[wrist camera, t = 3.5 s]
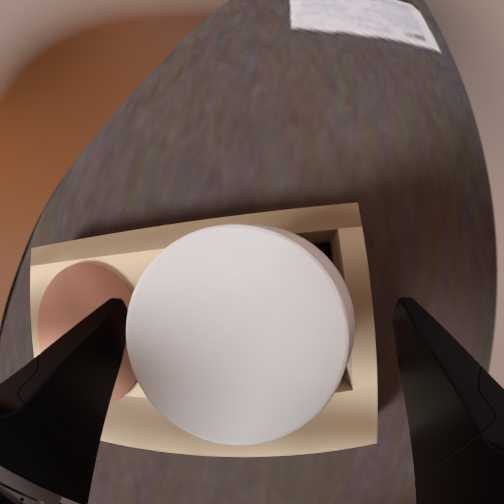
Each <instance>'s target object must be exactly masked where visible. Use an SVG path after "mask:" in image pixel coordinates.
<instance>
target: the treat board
mask: <svg viewBox="0 0 504 504" xmlns="http://www.w3.org/2000/svg"><path fill="white" fill-rule="evenodd" d="M223 224H249V225H265V226H271V227H276V228H280V229H284V230H287V231H289V232H291V233H294V234H296V235H298V236H300V237H302V238H304V239H306V240H307V241H309V242H310V243H312V244H320V243H329V242H330V245H331V253H332V260H333V264H334V266H335V267H336V268H337V270H338V271H339V273H340V275H341V276H342V278H343V280H344V282H345V284H346V286H347V289H348V292H349V294H350V297H351V300H352V304H353V309H354V317H355V335H354V344H353V348H352V352H351V356H350V359H349V362H348V364H347V366H346V368H345V371H344V374H343V377H342V379H341V381H340V384H339V386H338V388H337V390H336V391H335V393H334V395H333V396H332V398H331V399H330V401H329V402H328V403H327V405H326V406H325V407H324V408H323V409H322V410H321V411H320V412H319V413H318V414H317V415H316V416H315V417H314V418H313V419H312V420H311V421H309V422H308V423H307V424H305V425H304V426H302V427H301V428H299V429H298V430H296V431H294V432H293V433H291V434H288V435H286V436H284V437H282V438H279V439H276V440H273V441H269V442H266V443H260V444H254V445H226V444H220V443H215V442H211V441H208V440H204V439H201V438H199V437H196V436H194V435H192V434H190V433H188V432H186V431H184V430H183V429H181V428H179V427H178V426H176V425H175V424H173V423H172V422H171V421H169V420H168V419H167V418H166V417H164V416H163V415H162V414H161V413H160V412H159V411H158V410H157V409H156V408H155V406H154V405H153V404H152V403H151V402H150V400H149V399H148V398H147V397H146V395H145V394H144V392H143V390H142V389H141V387H140V385H139V383H138V381H137V379H136V377H135V375H134V372H133V370H132V367H131V363H130V360H129V356H128V351H127V344H126V345H125V350H124V355H123V359H122V363H121V366H120V369H119V372H118V376H117V379H116V383H115V386H114V389H113V393H112V397H111V400H110V404H109V408H108V411H107V415H106V419H105V423H104V427H103V431H102V435H101V439H100V441H105V442H109V443H114V444H119V445H124V446H129V447H135V448H140V449H147V450H153V451H161V452H169V453H177V454H188V455H201V456H220V457H269V456H288V455H301V454H311V453H320V452H328V451H336V450H342V449H349V448H354V447H360V446H365V445H370V444H375V443H377V420H378V388H377V357H376V339H375V326H374V314H373V303H372V293H371V285H370V276H369V269H368V261H367V254H366V247H365V241H364V235H363V229H362V223H361V217H360V212H359V206H358V203H347V204H336V205H325V206H315V207H306V208H296V209H287V210H278V211H269V212H260V213H252V214H244V215H236V216H228V217H220V218H213V219H205V220H198V221H191V222H184V223H177V224H170V225H163V226H156V227H150V228H143V229H137V230H131V231H125V232H118V233H112V234H107V235H101V236H95V237H89V238H83V239H78V240H72V241H67V242H62V243H56V244H51V245H46V246H41V247H36V248H32V249H31V271H30V306H31V327H32V340H33V351H34V358H35V357H36V356H38V355H39V354H40V353H41V352H43V351H44V350H45V349H46V348H47V347H49V346H50V345H51V344H52V343H54V342H55V341H56V340H57V339H59V338H60V337H61V336H62V335H64V334H65V333H66V332H67V331H69V330H70V329H71V328H72V327H74V326H75V325H76V324H78V323H79V322H80V321H81V320H83V319H84V318H85V317H87V316H88V315H89V314H90V313H92V312H93V311H94V310H96V309H97V308H98V307H100V306H101V305H102V304H104V303H105V302H106V301H107V300H109V299H110V298H121V299H122V300H123V301H124V303H125V305H126V307H127V309H128V308H129V304H130V300H131V297H132V294H133V292H134V289H135V287H136V285H137V283H138V281H139V279H140V277H141V276H142V274H143V272H144V271H145V269H146V268H147V266H148V265H149V264H150V263H151V262H152V261H153V260H154V258H155V257H156V256H157V255H158V254H159V253H160V252H162V251H163V250H164V249H165V248H166V247H168V246H169V245H170V244H172V243H173V242H175V241H176V240H178V239H180V238H181V237H183V236H185V235H187V234H189V233H192V232H194V231H196V230H199V229H202V228H206V227H210V226H215V225H223Z"/></svg>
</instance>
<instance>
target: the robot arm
mask: <svg viewBox="0 0 504 504" xmlns="http://www.w3.org/2000/svg"><path fill="white" fill-rule="evenodd" d="M127 313H128V309H127V307H126V305H125V303H124V301H123V300H122V299H121V298H110V299H109V300H107V301H106V302H105V303H104V304H102V305H101V306H100V307H98V308H97V309H96V310H94V311H93V312H92V313H90V314H89V315H88V316H87V317H85V318H84V319H83V320H81V321H80V322H79V323H78V324H76V325H75V326H74V327H72V328H71V329H70V330H69V331H67V332H66V333H65V334H64V335H62V336H61V337H60V338H59V339H57V340H56V341H55V342H54V343H52V344H51V345H50V346H49V347H47V348H46V349H45V350H44V351H43V352H41V353H40V354H39V355H38V356H36V357H35V358H34V359H33V360H32V361H30V362H29V363H28V364H27V365H25V366H24V367H23V368H21V369H20V370H19V371H17V372H16V373H15V374H13V375H12V376H10V377H9V378H8V379H6V380H5V381H4V382H2V383H1V384H0V504H62V503H60V501H61V498H62V497H64V498H67V499H69V500H72V501H74V502H77V503H80V504H87V503H88V498H89V493H90V487H91V482H92V477H93V472H94V467H95V462H96V457H97V452H98V448H99V443H100V439H101V435H102V431H103V427H104V423H105V419H106V415H107V411H108V408H109V404H110V400H111V397H112V393H113V389H114V386H115V383H116V379H117V376H118V372H119V369H120V366H121V363H122V359H123V355H124V350H125V345H126V320H127ZM393 329H394V337H395V345H396V354H397V363H398V369H399V374H400V379H401V384H402V389H403V394H404V400H405V405H406V411H407V417H408V424H409V430H410V437H411V445H412V453H413V462H414V473H415V486H416V503H417V504H504V389H503V388H502V387H501V386H500V385H499V384H498V383H497V382H496V381H495V380H494V379H493V378H492V377H491V376H490V375H489V374H488V373H487V371H486V370H485V369H484V368H483V367H482V366H480V364H479V363H478V362H477V361H476V360H475V359H474V358H473V357H472V356H471V355H470V354H469V353H468V352H467V351H466V350H465V349H464V347H463V346H462V345H461V344H460V343H459V342H458V341H457V340H456V339H455V338H454V337H453V336H452V335H451V334H450V333H449V332H448V331H447V330H446V329H444V328H443V327H442V326H441V325H440V324H439V323H438V322H437V321H436V320H435V319H434V318H433V317H432V316H431V315H430V314H429V313H428V312H427V311H426V310H425V309H424V308H423V307H422V306H420V305H419V304H418V303H417V302H416V301H415V300H414V299H413V298H411V297H403V298H399V300H398V302H397V305H396V308H395V311H394V314H393Z"/></svg>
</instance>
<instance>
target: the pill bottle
mask: <svg viewBox="0 0 504 504" xmlns="http://www.w3.org/2000/svg"><path fill="white" fill-rule="evenodd" d="M354 335H355V317H354V309H353V304H352V300H351V297H350V294H349V292H348V289H347V286H346V284H345V282H344V280H343V278H342V276H341V275H340V273H339V271H338V270H337V268H336V267H335V266H334V264H333V263H332V262H331V261H330V259H329V258H328V257H327V256H326V255H325V254H324V253H323V252H322V251H320V250H319V249H318V248H317V247H316V246H314V245H313V244H312V243H310V242H309V241H307V240H306V239H304V238H302V237H300V236H298V235H296V234H294V233H291V232H289V231H287V230H284V229H280V228H276V227H271V226H265V225H249V224H223V225H215V226H210V227H206V228H202V229H199V230H196V231H194V232H192V233H189V234H187V235H185V236H183V237H181V238H180V239H178V240H176V241H175V242H173V243H172V244H170V245H169V246H168V247H166V248H165V249H164V250H163V251H162V252H160V253H159V254H158V255H157V256H156V257H155V258H154V260H153V261H152V262H151V263H150V264H149V265H148V266H147V268H146V269H145V271H144V272H143V274H142V276H141V277H140V279H139V281H138V283H137V285H136V287H135V289H134V292H133V294H132V297H131V300H130V304H129V308H128V313H127V320H126V344H127V351H128V356H129V360H130V363H131V367H132V370H133V372H134V375H135V377H136V379H137V381H138V383H139V385H140V387H141V389H142V390H143V392H144V394H145V395H146V397H147V398H148V399H149V400H150V402H151V403H152V404H153V405H154V406H155V408H156V409H157V410H158V411H159V412H160V413H161V414H162V415H163V416H164V417H166V418H167V419H168V420H169V421H171V422H172V423H173V424H175V425H176V426H178V427H179V428H181V429H183V430H184V431H186V432H188V433H190V434H192V435H194V436H196V437H199V438H201V439H204V440H208V441H211V442H215V443H220V444H226V445H254V444H260V443H266V442H269V441H273V440H276V439H279V438H282V437H284V436H286V435H288V434H291V433H293V432H294V431H296V430H298V429H299V428H301V427H302V426H304V425H305V424H307V423H308V422H309V421H311V420H312V419H313V418H314V417H315V416H316V415H317V414H318V413H319V412H320V411H321V410H322V409H323V408H324V407H325V406H326V405H327V403H328V402H329V401H330V399H331V398H332V396H333V395H334V393H335V391H336V390H337V388H338V386H339V384H340V381H341V379H342V377H343V374H344V371H345V368H346V366H347V364H348V362H349V359H350V356H351V352H352V348H353V344H354Z"/></svg>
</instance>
